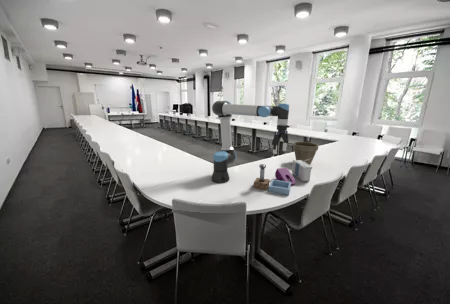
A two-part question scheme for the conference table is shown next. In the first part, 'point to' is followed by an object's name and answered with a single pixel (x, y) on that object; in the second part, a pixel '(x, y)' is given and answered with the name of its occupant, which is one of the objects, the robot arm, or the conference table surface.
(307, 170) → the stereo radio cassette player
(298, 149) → the plant pot
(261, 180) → the steel pin
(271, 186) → the parts tray
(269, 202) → the conference table surface
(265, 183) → the block
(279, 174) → the mounting bracket
